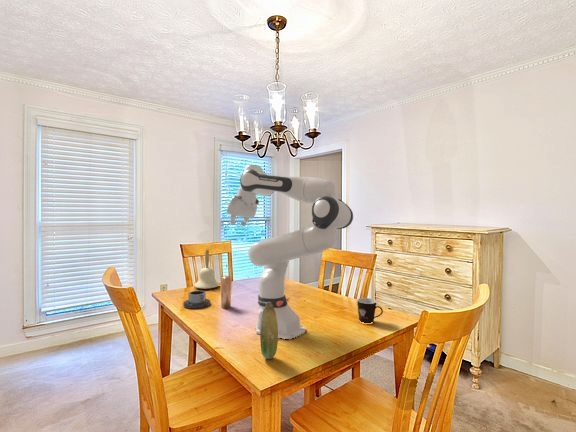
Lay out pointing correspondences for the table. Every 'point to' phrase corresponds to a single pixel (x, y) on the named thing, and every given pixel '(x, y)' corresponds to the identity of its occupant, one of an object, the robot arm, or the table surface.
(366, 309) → the coffee mug
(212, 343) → the table surface
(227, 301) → the copper pipe
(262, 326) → the vegetable
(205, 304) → the pipe sleeve
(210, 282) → the handbell
